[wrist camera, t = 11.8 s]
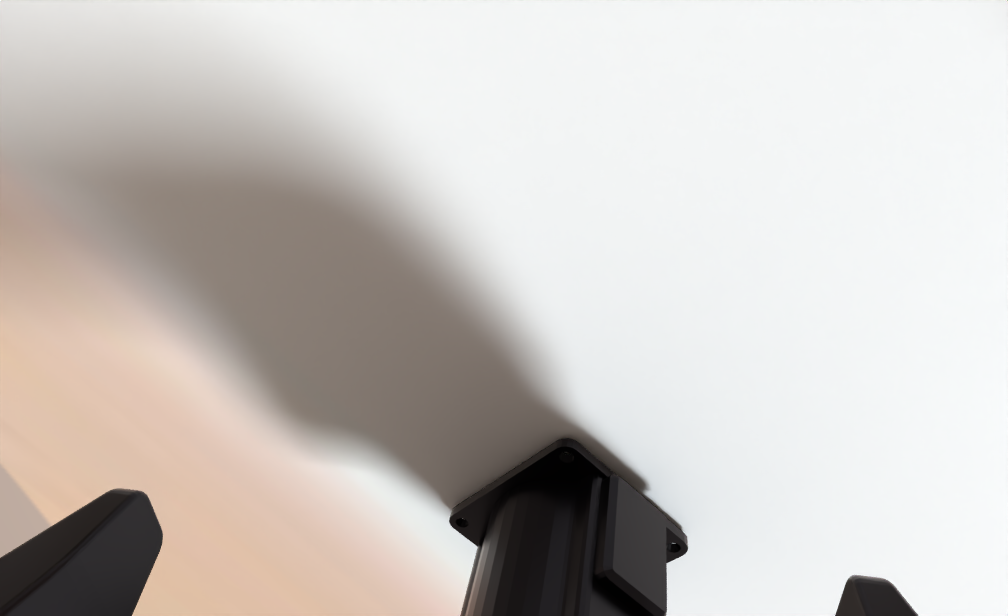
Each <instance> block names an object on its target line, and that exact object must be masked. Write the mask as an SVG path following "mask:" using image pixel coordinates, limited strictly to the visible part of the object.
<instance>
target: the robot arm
mask: <svg viewBox="0 0 1008 616" xmlns="http://www.w3.org/2000/svg"><path fill="white" fill-rule="evenodd" d="M562 452H569V453H571V455H567V454H564V453H562ZM462 518H464V519H462ZM449 522H450V525H451V526H452V527H453V528H454V529H455V530H457V531H458V532H459V533H461V534H462V535H463V536H465V537H466V538H467V539H469V540H470V541H471V542H472V543H474V544H475V545H476V546H478V549H477V553H476V557H475V560H474V564H473V568H472V572H471V576H470V580H469V584H468V588H467V592H466V596H465V600H464V604H463V608H462V611H461V615H460V616H666V612H667V573H666V563H668V562H670V561H672V560H674V559H676V558H679V557H681V556H683V555H684V554H685V553H686V552H687V550H688V540H687V536H686V535H685V534H684V533H683V532H682V531H681V530H680V529H679V528H677V527H676V526H675V525H674V524H673V523H672V522H670V521H669V520H668V519H667V518H666V516H665V515H664V514H663V513H662V512H660V511H659V510H658V509H657V508H656V507H655V506H653V505H652V504H651V503H650V502H649V501H648V500H646V499H645V498H644V497H643V496H642V495H641V494H639V493H638V492H637V491H636V490H635V489H634V488H632V487H631V486H630V485H629V484H628V483H627V482H625V481H624V480H623V479H622V478H621V477H619V476H617V475H616V474H614V473H613V472H612V471H611V470H610V469H609V468H607V467H606V466H605V465H604V464H603V463H602V462H600V461H599V460H598V459H597V458H596V457H595V456H594V455H592V454H591V453H590V452H589V451H588V450H587V449H585V448H584V447H583V446H582V445H581V444H580V443H578V442H577V441H575V440H573V439H569V438H565V439H560V440H558V441H556V442H555V443H553V444H552V445H550V446H548V447H547V448H545V449H544V450H542V451H541V452H539V453H538V454H536V455H535V456H533V457H531V458H530V459H528V460H527V461H525V462H524V463H522V464H521V465H519V466H518V467H516V468H514V469H513V470H511V471H510V472H508V473H507V474H505V475H504V476H502V477H501V478H499V479H497V480H496V481H494V482H493V483H491V484H490V485H488V486H487V487H485V488H484V489H482V490H480V491H479V492H477V493H476V494H474V495H473V496H471V497H470V498H468V499H467V500H465V501H463V502H462V503H460V504H459V505H457V506H456V507H454V508H453V510H452V512H451V516H450V520H449ZM162 540H163V533H162V529H161V526H160V524H159V521H158V519H157V517H156V514H155V512H154V509H153V507H152V505H151V502H150V500H149V498H148V496H147V495H146V494H145V493H144V492H142V491H138V490H130V489H113V490H110V491H108V492H106V493H105V494H103V495H101V496H100V497H98V498H97V499H95V500H93V501H92V502H90V503H89V504H87V505H85V506H84V507H82V508H80V509H79V510H77V511H76V512H74V513H72V514H71V515H69V516H67V517H66V518H64V519H63V520H61V521H59V522H58V523H56V524H54V525H53V526H51V527H50V528H48V529H46V530H45V531H43V532H42V533H40V534H38V535H37V536H35V537H33V538H32V539H30V540H29V541H27V542H25V543H24V544H22V545H20V546H19V547H17V548H16V549H14V550H13V551H11V552H9V553H7V554H6V555H4V556H3V557H1V558H0V616H132V614H133V612H134V610H135V607H136V605H137V603H138V600H139V598H140V596H141V593H142V591H143V589H144V586H145V584H146V582H147V579H148V577H149V575H150V573H151V570H152V568H153V566H154V563H155V561H156V559H157V556H158V554H159V552H160V549H161V545H162ZM672 543H676V544H672ZM835 616H918V614H917V613H916V612H915V611H914V610H913V608H912V607H911V606H910V605H909V603H908V602H907V601H906V600H905V598H904V597H903V596H902V595H901V594H900V592H899V591H898V590H897V589H896V587H895V586H894V585H893V584H892V583H891V582H889V581H888V580H886V579H883V578H877V577H868V576H860V575H853V576H851V577H850V578H849V579H848V580H847V582H846V585H845V588H844V591H843V594H842V597H841V600H840V603H839V606H838V609H837V612H836V615H835Z"/></svg>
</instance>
